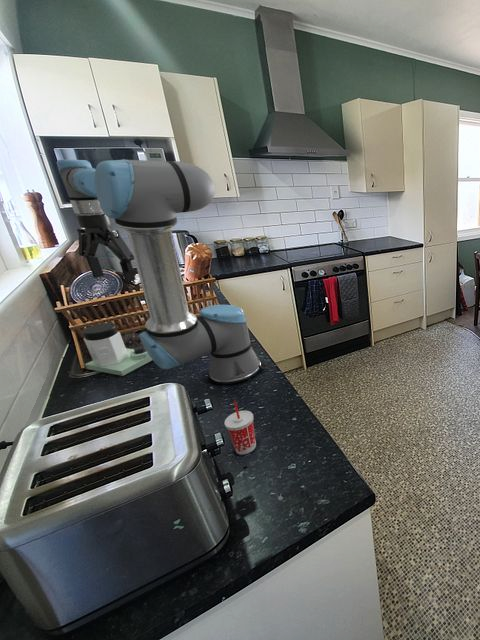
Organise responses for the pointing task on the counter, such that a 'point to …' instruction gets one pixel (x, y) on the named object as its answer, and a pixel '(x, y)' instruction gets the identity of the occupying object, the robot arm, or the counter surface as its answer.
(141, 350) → the tare button
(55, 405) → the counter surface
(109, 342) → the jar
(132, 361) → the scale
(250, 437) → the beverage cup
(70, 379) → the counter surface
